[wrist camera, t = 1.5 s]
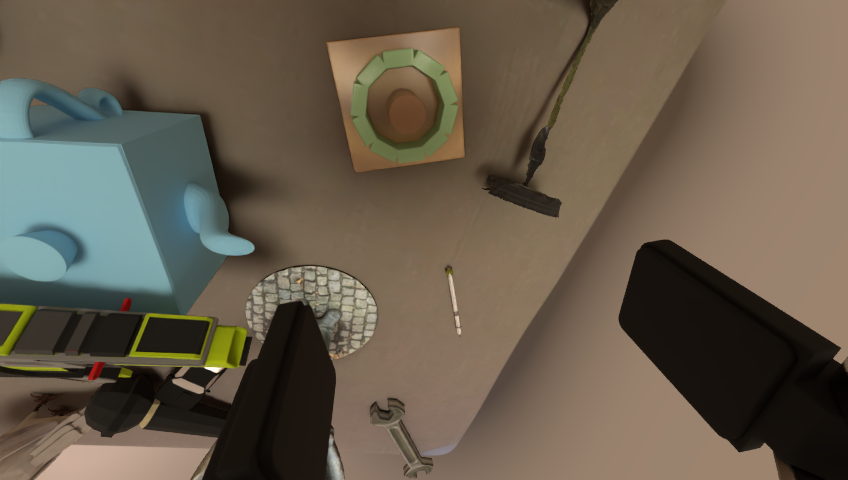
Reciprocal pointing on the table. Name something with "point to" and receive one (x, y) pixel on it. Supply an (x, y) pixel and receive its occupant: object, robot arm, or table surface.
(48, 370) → the toy gun
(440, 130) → the ring
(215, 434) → the microphone
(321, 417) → the robot arm
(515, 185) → the artificial flower
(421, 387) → the table surface
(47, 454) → the bird
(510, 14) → the table surface
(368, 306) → the figurine
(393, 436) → the wrench
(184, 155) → the teapot
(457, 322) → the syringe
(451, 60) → the stand
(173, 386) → the toy car
